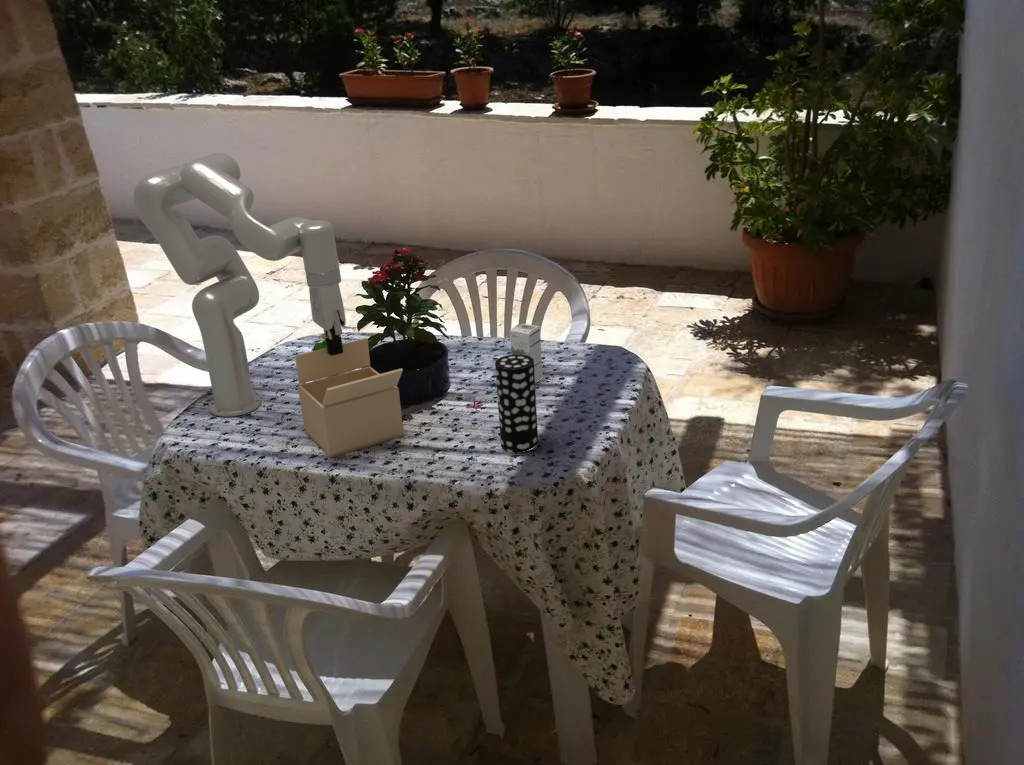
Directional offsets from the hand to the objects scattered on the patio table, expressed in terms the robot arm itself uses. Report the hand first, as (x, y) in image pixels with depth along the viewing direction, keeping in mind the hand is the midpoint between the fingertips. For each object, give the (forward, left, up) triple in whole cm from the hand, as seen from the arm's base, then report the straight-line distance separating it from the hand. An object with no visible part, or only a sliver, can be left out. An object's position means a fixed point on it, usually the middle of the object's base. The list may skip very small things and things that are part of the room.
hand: (335, 353), depth 239 cm
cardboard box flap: (+15, 0, -3) cm, 15 cm away
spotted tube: (+33, +28, -19) cm, 47 cm away
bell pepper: (-34, +10, -19) cm, 40 cm away
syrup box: (+4, +48, -19) cm, 52 cm away
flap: (-2, 0, -2) cm, 3 cm away
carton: (+5, 0, -19) cm, 19 cm away
